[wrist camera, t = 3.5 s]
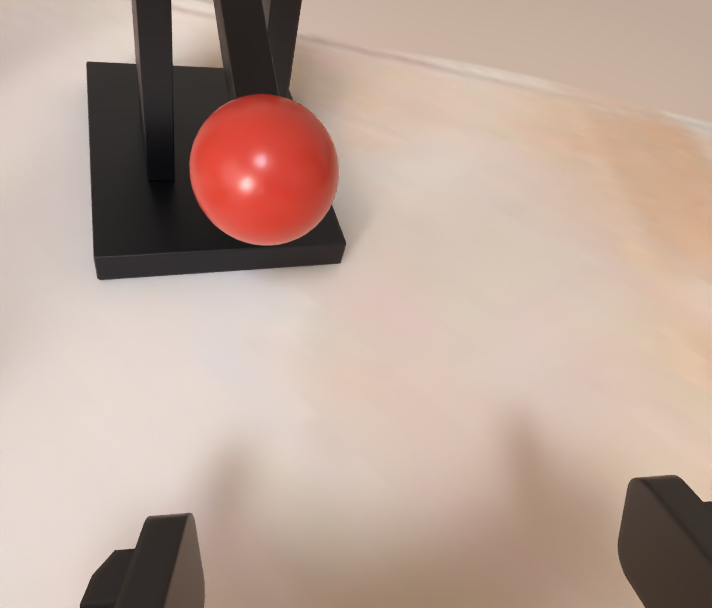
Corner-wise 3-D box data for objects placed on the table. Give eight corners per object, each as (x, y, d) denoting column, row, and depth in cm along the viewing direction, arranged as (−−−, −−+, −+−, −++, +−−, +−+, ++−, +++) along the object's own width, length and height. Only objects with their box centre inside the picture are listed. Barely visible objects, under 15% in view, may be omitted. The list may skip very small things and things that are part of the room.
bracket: (341, 264, 24) (448, -99, 14) (97, 280, 20) (17, -170, 11) (279, 91, 30) (322, -234, 21) (89, 84, 27) (35, -301, 18)
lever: (329, 262, 16) (371, 200, 13) (194, 272, 15) (203, 206, 12) (260, -102, 20) (279, -222, 16) (146, -119, 18) (143, -253, 15)
